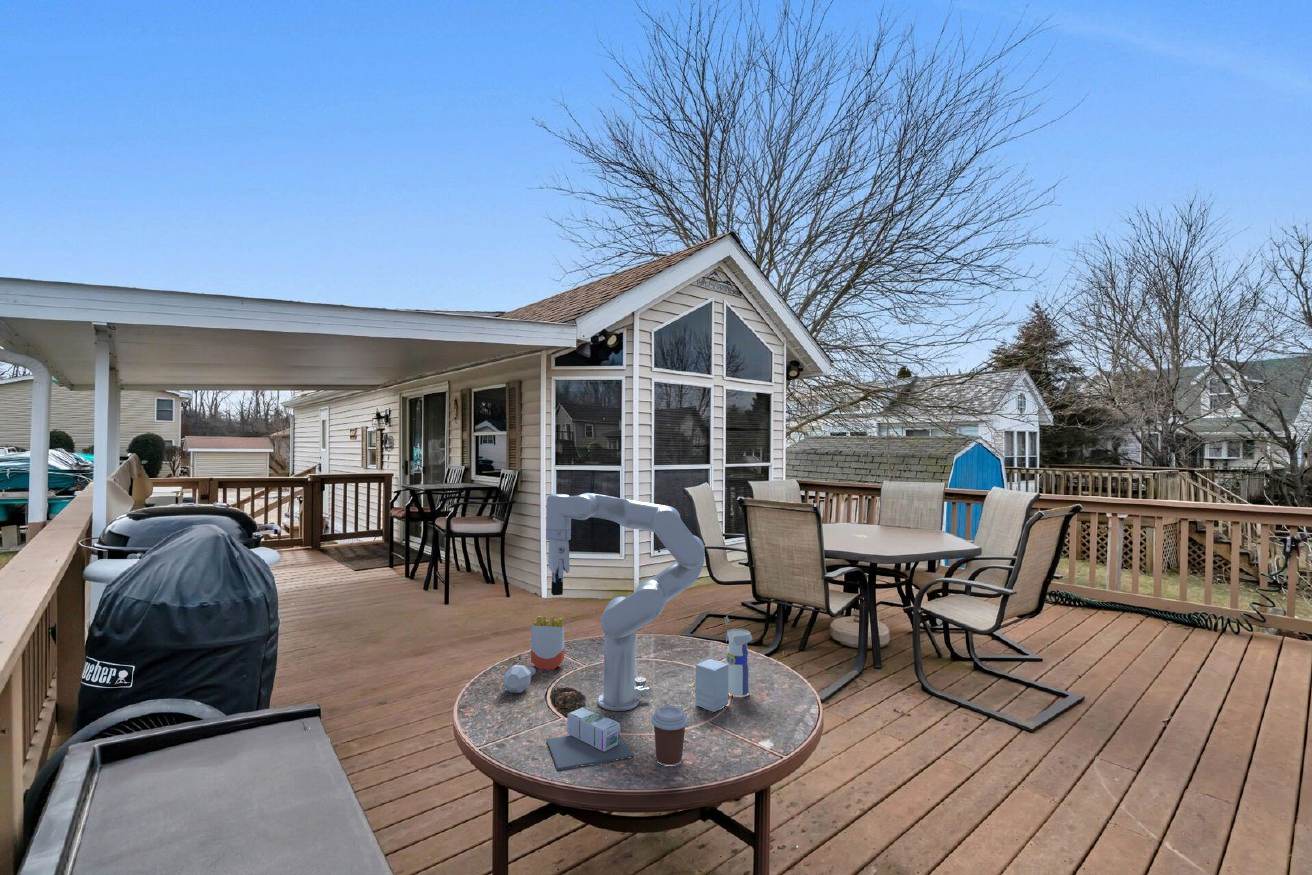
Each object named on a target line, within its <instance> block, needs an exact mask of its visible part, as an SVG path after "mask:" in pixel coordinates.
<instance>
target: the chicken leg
mask: <svg viewBox="0 0 1312 875" xmlns="http://www.w3.org/2000/svg"><path fill="white" fill-rule="evenodd" d="M536 670H537V669H536V668H535V667H534V666H528V667H526V665H523V664H522V665H521V664H520V665H519V664H514V665H512V666H511V667H510V668H509V669H508V670H507V671H506V672H505V673H504V678H503V679H504V680H503V686H504V687H505V688H506V689H507V691H508V692H509V693H517V694H519V693H520V694H521V693H523V692H524V691H525V690H526V689H527V688H528V687H529V686H530V685H531V680H532V677H533V676H534V675H535V674H536Z"/></svg>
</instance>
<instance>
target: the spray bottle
mask: <svg viewBox="0 0 1312 875" xmlns="http://www.w3.org/2000/svg"><path fill="white" fill-rule="evenodd" d="M725 616H726V617H723V619H724V625H727V627H728V626H729V622H730V619H729V617H728V615H725ZM725 641H726V642H725V643H727V641H728V646H727V649H726V652H727V655H726V664H728V693H730V694H732V695H745V694H747V693H749V694H750V668H749V666H750V665H749V663H748V660H749V659H748V657H749V656H748V655H749V653H750V651H749V648H748V643H749V642H752V641H753V636H752V634H751V632H750V631H749V630H746V629H744V628H743V629H742V628H733V629H732V628H731V629H728V630H727V631H726V638H725Z"/></svg>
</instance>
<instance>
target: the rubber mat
mask: <svg viewBox="0 0 1312 875" xmlns="http://www.w3.org/2000/svg"><path fill="white" fill-rule="evenodd" d="M546 744H547V747H548V748H549V751H550V754H551V757H552V759H553V761H555V762H554V764H555V766H557V767H556V769H557V771H558V770H559V771H563V770H570V769H573V768H572V767H576V766H581V765H587V766H591V765H590V764H593V765H598V764H597V763H599V764H602V763H601V762H605V763H607V762H606V761H611V762H614V761H613V760H616V759H622V758H628V757H633V758H634V754H633V753H632V752H633V751H631V749H630V747H629V746H628V745H627V743H626V741H625V740H624V738H623V737H622V736H621V734H620V744H618V745H616V746H615V747H613V748H611V749H609V750H607V751H605V752H604V751H602V750H599V749H597V748H595V747H593V746H591V745H589V744H587V743H585V742H583V741H581V740H579V739H577V738H575V737H573V736H571V735H566V736H558V737H552V738H546ZM628 759H629V758H628ZM622 760H623V759H622ZM616 761H617V760H616ZM569 768H570V769H569ZM576 768H577V767H576Z"/></svg>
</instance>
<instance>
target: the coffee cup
mask: <svg viewBox="0 0 1312 875" xmlns="http://www.w3.org/2000/svg"><path fill="white" fill-rule="evenodd" d="M651 723H652V725H653V727H654V728H653V729H654V743H655V745H654V746H655V760H657V761H658V762H659V763H661V764H662V765H677V764H679V763H680V762H681V761H682V762H683V749H684V740H685V732H686V727H687V725H688V723H689V718H688V717H687V715H685V711H684V710H683V709H682V708H680V707H678V706H673V705H666V706H665V705H664V706H661V707H659V708H657V709H656V711H655V713H654V714H653V715H652V717H651ZM657 761H656V762H657ZM682 762H681V763H682Z"/></svg>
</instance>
